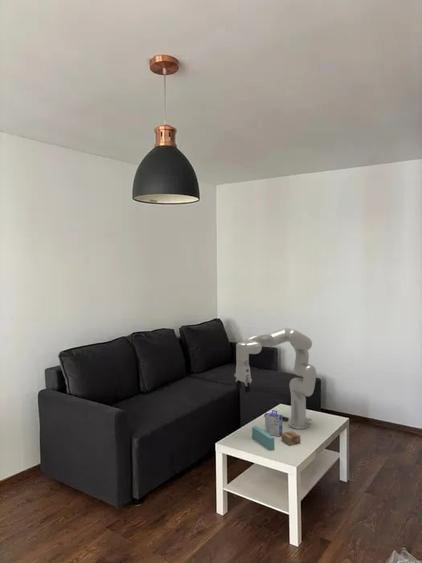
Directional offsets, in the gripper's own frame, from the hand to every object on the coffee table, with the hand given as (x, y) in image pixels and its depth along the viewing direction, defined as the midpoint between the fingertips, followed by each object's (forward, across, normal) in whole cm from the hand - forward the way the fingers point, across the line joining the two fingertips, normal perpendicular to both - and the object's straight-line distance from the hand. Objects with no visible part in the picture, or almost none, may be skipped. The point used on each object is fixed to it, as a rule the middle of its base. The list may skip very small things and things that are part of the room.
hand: (243, 390), depth 259 cm
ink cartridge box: (+30, -4, -20) cm, 37 cm away
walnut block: (+30, -20, -21) cm, 42 cm away
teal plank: (+30, -12, -6) cm, 33 cm away
